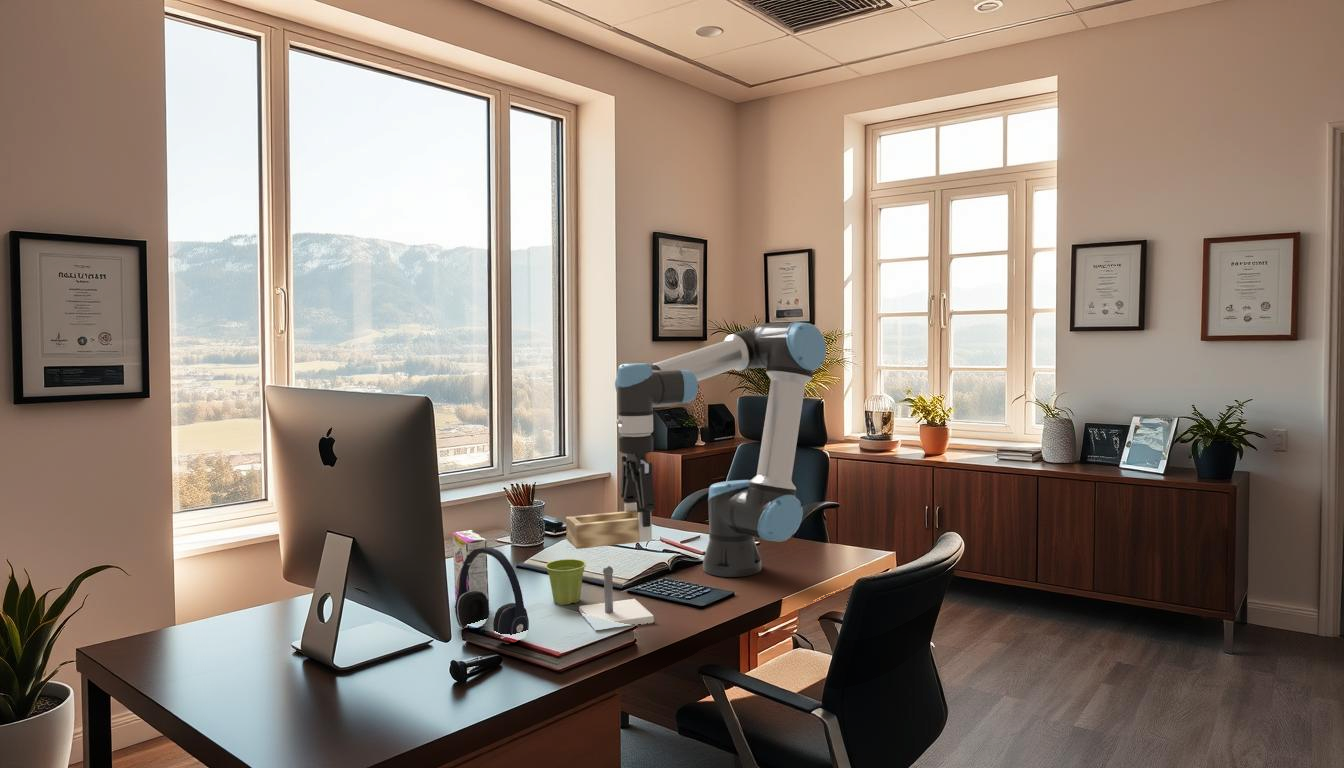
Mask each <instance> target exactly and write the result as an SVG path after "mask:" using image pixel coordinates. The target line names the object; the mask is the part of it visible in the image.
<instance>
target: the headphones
mask: <svg viewBox="0 0 1344 768" xmlns="http://www.w3.org/2000/svg"><path fill="white" fill-rule="evenodd" d="M480 553H485V554H487V556H488V555H489V556H491V557H493V558H495V559H496V560H497V561H498V563H499V564H500V565H501V566H502V568H503V569H504V571H505V573H506V576H507V577H508V579H509V583H510V585H511V588H512V591H513V596H514V602H509V603H505V604H504V605H502V606H500V607H499V608H498V609H497V610H496V612H495V613H494V617H493V624H492V625H493V626H492V627H493V630H494V631H496V632H498V633H500V634H510V635H512V634H516V633H520V632H523V631H526V630H528V631H529V628H530V622H529V621H530V620H529V616H528V612H527V608H525V605H524V604H525V603H524V598H523V593H522V592H523V591H522V589H521V586H520V583H519V579H518V577H517V574H516V572H515V569H514V567H513V566H512V564H511V562H510V561H509V559H508V558H507V557H506V555H505V554H504V553H503V552H502V551H500V550H498V549H496V548H495V547H494V548H493V547H490V546H489V547H487V546H486V547H484V548H479V549H475V550H473V551H472V552H471V553H470V554H469V555H468V556H467V558H466V559H465V561H464V564H463V567H462V569H461V573H460V580H459V591H458V596H457V600H455V604H454V608H455V609H454V610H455V611H454V612H455V618H456V622H457V624H458V626H459V627H460V628H461V629H463V627H464V626H466V625H467V624H471V623H475V622H478V621H480V620H484V619H487V618H488V619H489V617H490V604H489V605H488V600H487V597H486V595H485V594H484V593H482V592H479V591H467V575H468V570H469V567H470V564H471V563H472V561H473V560H474V558H475V557H476V556H477V555H478V554H480ZM493 630H492V631H493ZM494 631H493V632H494Z"/></svg>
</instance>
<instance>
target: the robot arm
mask: <svg viewBox="0 0 1344 768" xmlns="http://www.w3.org/2000/svg"><path fill="white" fill-rule="evenodd" d="M826 357H827V345H826V340H825V337H824V336H823V335H822V332H821V331H820V329H819V328H818V327H817V326H816V325H814V324H812V323H809V322H799V321H794V322H767V323H762V324H758V325H755V326H752V327H749V328H746V329H744V330H741V331H738V332H735V333H732V334H729V335H727V336H726V337H725V338H724V340H723V341H719V342H718V343H716V342H715V343H714V344H711V345H707V346H705V347H702V348H699V349H695V350H692V351H688V352H685V353H682V354H679V355H676V356H674V357H670V358H667V359H664V360H661V361H657V362H655V363H652V364H651V363H647V362H643V363H642V362H641V363H640V362H639V363H635V362H633V363H621V364H620V365H619V366H618V368H617V376H615V377H616V378H615V382H614V387H615V391H616V394H617V410H618V411H617V412H618V414H617V415H618V419H617V420H616V421H615V423H616V424H617V425H618V433H619V434H620V435H619V436H618V451H619V453H621V454H623V455H622V456H621V482H620V484H621V485H620V486H621V487H620V498H621V499H622V501H623V503H624V504H623V505H624V507H623V508H624V511H634V510H636V511H637V512H638V522H639V542H638V543H643V542H645V541H647V542H651V541H653V535H652V534H653V531H652V529H653V528H652V512H653V511H655V509H656V501H655V491H654V480H653V464H652V462H648V460H647V456H646V455H647V454H650V453H652V452H653V451H654V436H653V435H652V433H653V432H654V412H653V410H654V409H653V408H654V407H653V406H658V405H659V406H660V405H675V404H679V405H683V404H684V403H685V404H687V403H690V402H691V403H692V401H694V400H695V399H696V397H697V395H698V392H699V388H698V387H699V381H703V380H706V379H708V378H711V377H714V376H718V375H719V374H720V375H721V374H723V373H726V372H729V371H732V370H735V371H737V372H741V371H744V370H748V369H760V368H761V369H766V370H765V373H766V375H767V376H768V378H769V380H770V382H769V383H770V384H769V390H768V397H767V404H766V411H765V417H764V418H765V419H764V424H763V425H764V426H763V431H762V436H761V442H760V443H761V444H760V451H759V456H758V457H759V458H758V463H757V471H756V475H755V476H754V477H752V479H738V480H727V481H720V482H716V483H713V484H711V485H710V486H709V487H708V497H707V501H708V502H707V503H708V504H707V505H708V507H707V508H708V527H709V529H708V532H709V533H708V535H709V538H708V543H707V547H706V550H705V553H704V556H703V559H702V569H703V570H702V571H704V573H706V574H709V575H711V576H718V577H724V578H725V577H726V578H741V577H748V576H752V575H756V574H758V573H760V572H762V559H761V556H760V553H759V549H758V547H757V544H756V542H755V537H756V538H759V539H762V540H764V541H771V542H776V543H777V542H785V541H787V540H789V539H791V537H792V536H793V535H794V534H796V533H797V531H798V529H799V528H800V525H801V523H802V520H803V515H804V514H803V513H804V511H803V506H802V505H801V501H800V500H799V498H798V497H797V496H796V493H797V487H796V485H794V483H793V481H792V478H793V470H794V464H795V458H796V451H797V450H796V449H797V443H798V438H799V430H800V424H801V423H800V422H801V415H802V411H803V403H804V402H803V401H804V395H805V390H806V389H805V388H806V385H808V383H809V382H811V381H812V380H813V379H814V378H813V376H814V371H816V370H817V369H819V368H821V366H822V365H823V364H824V362H825V360H826ZM624 454H626V455H624ZM637 502H638V503H637ZM638 506H639V508H638Z"/></svg>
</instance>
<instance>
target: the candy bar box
mask: <svg viewBox="0 0 1344 768" xmlns="http://www.w3.org/2000/svg"><path fill="white" fill-rule="evenodd" d="M451 535H452V555H453V556H452V557H453V575H454V577H453V578H454V593H455V594H454V599H455V601H456V600H457V596H458V591H459V580H460V573H461V569H462V567H463V564H464V561H465V559H466V558H467V556H468V555H469V554H470V553H471V552H472V551H473V550H475V549H479V548H484V547H487V539H486V538H484V536H481V535H480V534H478V532H475V531H474V530H472V529H468V530H460V531H454V532H452V534H451ZM488 572H489V571H488V554H485V553H480V554H478V555H477V556H476V557H475V558H474V560H473V561H472V563H471V564H470V567H469V570H468V575H467V591H479V592H482V593H484V594H485V595H486V597H487V600H488V605H489V606H490V602H489V601H490V600H489V599H490V598H489V597H490V596H489V595H490V593H489V579H488V577H489V575H488Z"/></svg>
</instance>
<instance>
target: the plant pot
mask: <svg viewBox="0 0 1344 768" xmlns="http://www.w3.org/2000/svg"><path fill="white" fill-rule="evenodd" d="M586 566H587V562H586V561H584V560H581V559H575V558H574V559H573V558H567V559H564V558H563V559H557V560H553V561H549V562H547V563H546V564H545V566H544V568H545V569H546V570H547V574H548V577H549V578H548V579H549V582H550V587H551V593H552V598H553V602H554V603H556V604H558V605H563V606H564V605H565V606H567V605H570V604H572V603H574V604H576V603H578V602H579V601H581V594H582V584H583V577H584V572H585V568H586Z"/></svg>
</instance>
